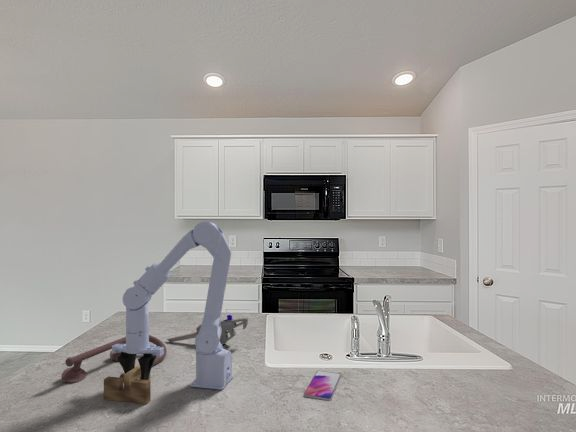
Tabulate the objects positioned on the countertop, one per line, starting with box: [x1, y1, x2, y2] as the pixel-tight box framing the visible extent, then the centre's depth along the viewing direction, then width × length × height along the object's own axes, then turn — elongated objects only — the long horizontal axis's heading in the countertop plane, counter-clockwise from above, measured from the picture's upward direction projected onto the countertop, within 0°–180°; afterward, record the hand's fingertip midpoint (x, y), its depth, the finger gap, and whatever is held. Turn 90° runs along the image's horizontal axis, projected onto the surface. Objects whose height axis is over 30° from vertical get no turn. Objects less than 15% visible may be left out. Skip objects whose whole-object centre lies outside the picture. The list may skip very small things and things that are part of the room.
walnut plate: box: [103, 376, 152, 405], centre depth 86 cm, size 12×2×5 cm, turn 78°
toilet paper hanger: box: [61, 334, 167, 384], centre depth 105 cm, size 28×7×17 cm
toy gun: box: [166, 314, 249, 345], centre depth 126 cm, size 2×32×10 cm, turn 81°
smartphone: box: [303, 370, 342, 402], centre depth 93 cm, size 7×1×15 cm
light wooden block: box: [123, 364, 151, 389], centre depth 93 cm, size 9×2×5 cm, turn 168°
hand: (137, 380), depth 93 cm, fingers open, 4 cm apart
